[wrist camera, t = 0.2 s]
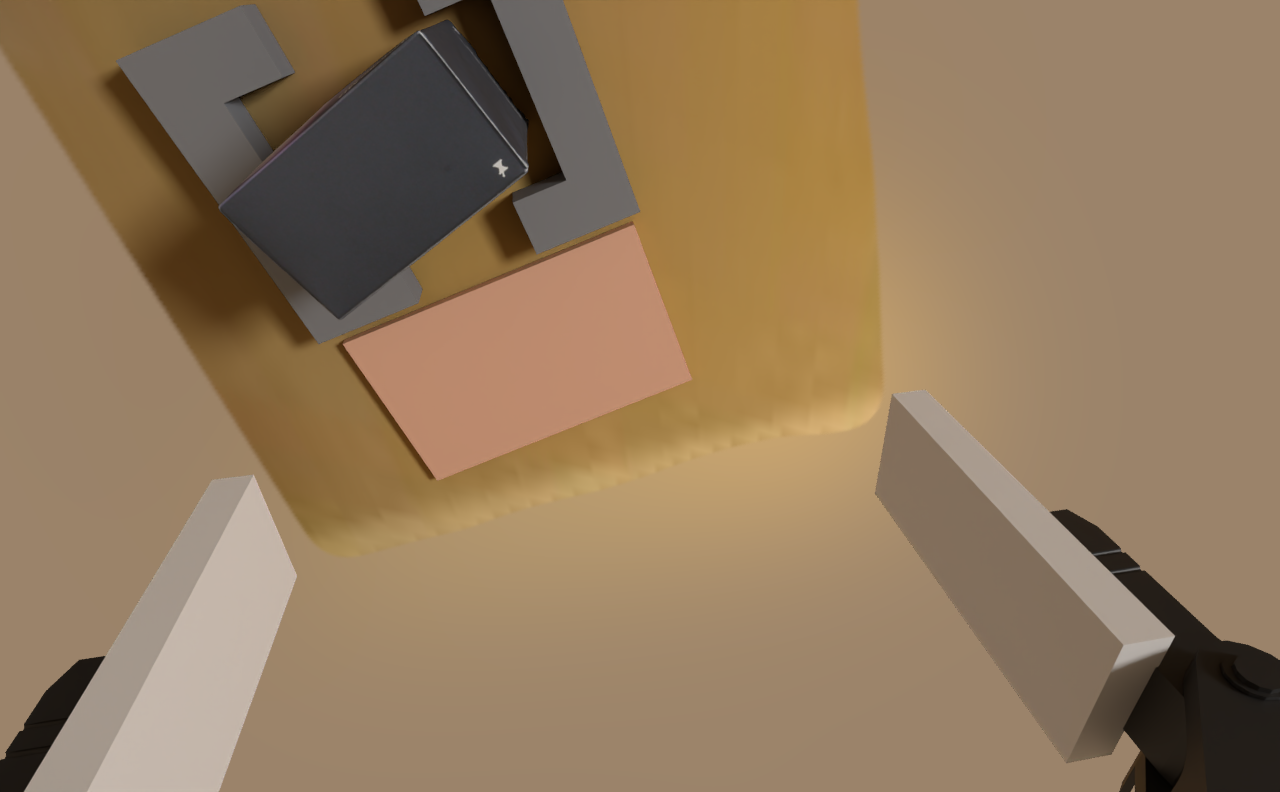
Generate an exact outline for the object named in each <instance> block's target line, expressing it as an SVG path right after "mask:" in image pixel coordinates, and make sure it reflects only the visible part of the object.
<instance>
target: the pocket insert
mask: <svg viewBox="0 0 1280 792" xmlns="http://www.w3.org/2000/svg"><path fill="white" fill-rule="evenodd" d="M459 1H461V0H418V2H419V5H420V7H421V9H422V11H423V13H424V15H425V16H426V15H429V14H431V13H433V12H436V11H438V10H440V9H443V8H445V7H447V6H449V5H452V4H454V3H456V2H459ZM491 1H492V4H493V6H494V8H495V11H496V13H497V16H498V18H499V20H500V23H501V25H502V27H503V30H504V32H505V35H506V37H507V39H508V42H509V44H510V47H511V49H512V51H513V54H514V56H515V59H516V61H517V63H518V66H519V68H520V71H521V73H522V75H523V78H524V80H525V83H526V85H527V87H528V90H529V92H530V95H531V97H532V99H533V102H534V104H535V107H536V109H537V111H538V114H539V116H540V119H541V121H542V123H543V126H544V128H545V131H546V133H547V135H548V138H549V140H550V142H551V145H552V147H553V150H554V152H555V154H556V157H557V159H558V162H559V164H560V166H561V169H562V171H563V172H561V173H559V174H556V175H554V176H551V177H549V178H547V179H544V180H542V181H539V182H537V183H535V184H532V185H530V186H527V187H525V188H523V189H520V190H518V191H516V192H513V205H514V207H515V209H516V211H517V213H518V215H519V217H520V219H521V222H522V224H523V226H524V228H525V230H526V232H527V234H528V236H529V239H530V241H531V243H532V245H533V247H534V249H535V251H536V253H537V254H539V253H541V252H544V251H546V250H549V249H551V248H553V247H556V246H558V245H561V244H563V243H566V242H568V241H570V240H573V239H575V238H578V237H580V236H583V235H585V234H588V233H590V232H592V231H595V230H597V229H600V228H602V227H605V226H607V225H609V224H612V223H614V222H617V221H619V220H622V219H624V218H626V217H629V216H631V215H634V214H636V213H639V212H640V210H639V207H638V204H637V202H636V199H635V196H634V194H633V191H632V188H631V185H630V183H629V180H628V177H627V174H626V172H625V169H624V166H623V164H622V161H621V158H620V155H619V153H618V150H617V147H616V144H615V142H614V139H613V136H612V133H611V131H610V128H609V125H608V123H607V120H606V117H605V114H604V112H603V109H602V106H601V103H600V101H599V98H598V95H597V93H596V90H595V87H594V84H593V82H592V79H591V76H590V73H589V71H588V68H587V65H586V63H585V60H584V57H583V54H582V52H581V49H580V46H579V43H578V41H577V38H576V35H575V32H574V30H573V27H572V24H571V22H570V19H569V16H568V13H567V11H566V8H565V5H564V2H563V0H491ZM116 62H117V63H118V65H119V66H120V68H121V69H122V70H123V72H124V73H125V75H126V76H127V77H128V79H129V80H130V81H131V83H132V84H133V86H134V87H135V88H136V90H137V91H138V93H139V94H140V95H141V97H142V98H143V100H144V101H145V102H146V104H147V105H148V107H149V108H150V109H151V111H152V112H153V114H154V115H155V116H156V118H157V119H158V121H159V122H160V123H161V125H162V126H163V128H164V129H165V130H166V132H167V133H168V134H169V136H170V137H171V139H172V140H173V141H174V143H175V144H176V146H177V147H178V148H179V150H180V151H181V153H182V154H183V155H184V157H185V158H186V160H187V161H188V162H189V164H190V165H191V167H192V168H193V169H194V171H195V172H196V174H197V175H198V176H199V178H200V179H201V181H202V182H203V183H204V185H205V186H206V188H207V189H208V190H209V192H210V193H211V194H212V196H213V197H214V199H215V200H216V201H217V203H218V204H219V205H220V204H221V203H222V202H223V201H224V200H225V199H226V198H227V197H228V196H229V195H230V194H231V193H232V192H233V191H234V189H236V188H237V187H238V186H239V185H240V184H241V183H242V182H243V181H244V180H245V179H246V178H247V177H248V176H249V175H250V174H251V173H252V172H253V171H254V170H255V169H256V168H257V167H258V166H259V165H260V164H261V163H262V162H263V161H264V160H265V159H266V158H267V157H269V156H270V155H271V154H272V153H273V150H272V148H271V147H270V145H269V144H268V142H267V141H266V139H265V138H264V136H263V134H262V133H261V131H260V130H259V128H258V127H257V125H256V123H255V122H254V120H253V119H252V117H251V116H250V114H249V113H248V111H247V109H246V108H245V106H244V105H243V103H242V102H241V100H240V99H239V97H240V96H242V95H244V94H247V93H249V92H251V91H254V90H256V89H258V88H260V87H263V86H265V85H267V84H270V83H272V82H274V81H277V80H279V79H281V78H283V77H286V76H288V75H290V74H293V73H295V71H294V70H293V68H292V66H291V64H290V63H289V61H288V59H287V58H286V56H285V54H284V53H283V51H282V49H281V47H280V46H279V44H278V42H277V41H276V39H275V37H274V36H273V34H272V32H271V30H270V29H269V27H268V25H267V24H266V22H265V20H264V19H263V17H262V15H261V13H260V12H259V10H258V8H257V7H256V5H255V4H254V5H243V6H239V7H236V8H234V9H232V10H230V11H227V12H225V13H223V14H220V15H218V16H216V17H214V18H211V19H209V20H207V21H205V22H202V23H200V24H198V25H196V26H193V27H191V28H189V29H186V30H184V31H182V32H180V33H177V34H175V35H173V36H171V37H168V38H166V39H164V40H162V41H159V42H157V43H155V44H152V45H150V46H148V47H146V48H143V49H141V50H139V51H137V52H134V53H132V54H130V55H128V56H125V57H123V58H121V59H118V60H116ZM234 227H235V226H234ZM235 228H236V229H237V231H238V232H239V234H240V235H241V236H242V238H243V239H244V241H245V242H246V243H247V245H248V246H249V247H250V249H251V250H252V252H253V253H254V254H255V256H256V257H257V259H258V260H259V261H260V263H261V264H262V266H263V267H264V268H265V270H266V271H267V273H268V274H269V275H270V277H271V278H272V280H273V281H274V282H275V284H276V285H277V287H278V288H279V289H280V291H281V292H282V294H283V295H284V296H285V298H286V299H287V301H288V302H289V303H290V305H291V306H292V307H293V309H294V310H295V312H296V313H297V314H298V316H299V317H300V319H301V320H302V321H303V323H304V324H305V326H306V327H307V328H308V330H309V331H310V333H311V334H312V335H313V337H314V338H315V340H316V341H317V342H318V344H320V343H323V342H325V341H327V340H330V339H332V338H335V337H337V336H340V335H342V334H344V333H347V332H349V331H352V330H354V329H357V328H359V327H361V326H364V325H366V324H369V323H371V322H374V321H376V320H378V319H381V318H383V317H386V316H388V315H391V314H393V313H396V312H398V311H400V310H403V309H405V308H408V307H410V306H413V305H415V304H417V303H419V300H420V296H421V293H422V287H421V286H420V284H419V282H418V281H417V279H416V277H415V275H414V274H413V272H412V270H411V269H410V267H408V268H407V269H406V270H404V271H403V272H402V273H400V274H399V275H398V276H397V277H395V278H394V279H393V280H391V281H390V282H389V283H388V284H386V285H385V286H384V287H383V288H382V289H380V290H379V291H378V292H377V293H375V294H374V295H373V296H371V297H370V298H369V299H368V300H366V301H365V302H364V303H362V304H361V305H360V306H359V307H357V308H356V309H355V310H354V311H352V312H351V313H350V314H348V315H347V316H346V317H345V318H343V319H341V320H338V319H337V318H336V317H335V316H334V315H333V314H331V313H330V312H329V311H328V310H327V309H326V308H325V307H323V306H322V305H321V304H320V303H319V302H318V301H317V300H316V299H314V298H313V297H312V296H311V295H310V294H309V293H308V292H307V291H306V290H305V289H303V288H302V287H301V286H300V285H299V284H298V283H297V282H296V281H295V280H294V279H292V278H291V277H290V276H289V275H288V274H287V273H286V272H285V271H284V270H282V269H281V268H280V267H279V266H278V265H277V264H276V263H274V262H273V261H272V260H271V259H270V258H269V257H268V256H267V255H266V254H265V253H264V252H263V251H262V250H261V249H259V248H258V247H257V246H256V245H255V244H254V243H253V242H252V241H251V240H250V239H249V238H247V237H246V236H245V235H244V234H243V233H242V232H241V231H240V230H239V229H238V228H237V227H235Z"/></svg>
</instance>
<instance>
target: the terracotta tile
mask: <svg viewBox="0 0 1280 792" xmlns="http://www.w3.org/2000/svg"><path fill="white" fill-rule="evenodd" d="M343 345H344V347H345V348H346V350H347V351H348V353H349V354H350V355H351V357H352V358H353V360H354V361H355V363H356V364H357V366H358V367H359V368H360V370H361V371H362V373H363V374H364V376H365V377H366V379H367V380H368V381H369V383H370V384H371V386H372V387H373V389H374V390H375V392H376V393H377V394H378V396H379V397H380V399H381V400H382V402H383V403H384V404H385V406H386V407H387V409H388V410H389V412H390V413H391V415H392V416H393V417H394V419H395V420H396V422H397V423H398V425H399V426H400V428H401V429H402V430H403V432H404V433H405V435H406V436H407V438H408V439H409V440H410V442H411V443H412V445H413V446H414V448H415V449H416V451H417V452H418V453H419V455H420V456H421V458H422V459H423V461H424V462H425V464H426V465H427V466H428V468H429V469H430V471H431V472H432V474H433V475H434V476H435V478H436V479H437V481H438V480H440V479H443V478H445V477H448V476H450V475H453V474H455V473H458V472H460V471H463V470H466V469H468V468H471V467H473V466H476V465H478V464H481V463H483V462H486V461H488V460H491V459H493V458H496V457H498V456H501V455H503V454H506V453H508V452H511V451H513V450H516V449H518V448H521V447H523V446H526V445H528V444H531V443H534V442H536V441H539V440H541V439H544V438H546V437H549V436H551V435H554V434H556V433H559V432H561V431H564V430H566V429H569V428H571V427H574V426H576V425H579V424H581V423H584V422H586V421H589V420H591V419H594V418H597V417H599V416H602V415H604V414H607V413H609V412H612V411H614V410H617V409H619V408H622V407H624V406H627V405H629V404H632V403H634V402H637V401H639V400H642V399H644V398H647V397H649V396H652V395H654V394H657V393H660V392H662V391H665V390H667V389H670V388H672V387H675V386H677V385H680V384H682V383H685V382H687V381H690V380H692V378H691V375H690V372H689V370H688V367H687V364H686V362H685V359H684V356H683V354H682V351H681V348H680V346H679V343H678V340H677V338H676V335H675V332H674V330H673V327H672V325H671V322H670V319H669V317H668V314H667V311H666V309H665V306H664V303H663V301H662V298H661V295H660V293H659V290H658V287H657V285H656V282H655V279H654V277H653V274H652V271H651V269H650V266H649V263H648V261H647V258H646V255H645V253H644V250H643V247H642V245H641V242H640V239H639V237H638V234H637V231H636V229H635V226H634V224H633V222H630V223H627V224H625V225H622V226H620V227H617V228H615V229H613V230H610V231H608V232H605V233H603V234H600V235H598V236H596V237H593V238H591V239H588V240H586V241H583V242H581V243H579V244H576V245H574V246H571V247H569V248H566V249H564V250H562V251H559V252H557V253H554V254H552V255H549V256H547V257H544V258H542V259H540V260H537V261H535V262H532V263H530V264H527V265H525V266H523V267H520V268H518V269H515V270H513V271H510V272H508V273H506V274H503V275H501V276H498V277H496V278H493V279H491V280H489V281H486V282H484V283H481V284H479V285H476V286H474V287H471V288H469V289H467V290H464V291H462V292H459V293H457V294H454V295H452V296H450V297H447V298H445V299H442V300H440V301H437V302H435V303H433V304H430V305H428V306H425V307H423V308H420V309H418V310H416V311H413V312H411V313H408V314H406V315H403V316H401V317H398V318H396V319H394V320H391V321H389V322H386V323H384V324H381V325H379V326H377V327H374V328H372V329H369V330H367V331H364V332H362V333H360V334H357V335H355V336H352V337H350V338H347V339H345V340H344V342H343Z"/></svg>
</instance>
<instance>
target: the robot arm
mask: <svg viewBox="0 0 1280 792" xmlns="http://www.w3.org/2000/svg"><path fill="white" fill-rule="evenodd" d="M875 494H876V495H877V497H878V498H879V500H880V501H881V502H882V504H883V505H884V507H885V508H886V510H887V511H888V512H889V514H890V515H891V517H892V518H893V519H894V521H895V522H896V524H897V525H898V527H899V528H900V529H901V531H902V532H903V533H904V535H905V536H906V538H907V539H908V541H909V542H910V543H911V545H912V546H913V548H914V549H915V551H916V552H917V553H918V555H919V556H920V557H921V559H922V560H923V562H924V563H925V565H926V566H927V567H928V569H929V570H930V571H931V573H932V574H933V576H934V577H935V579H936V580H937V582H938V583H939V584H940V586H941V587H942V588H943V590H944V591H945V593H946V594H947V596H948V597H949V598H950V600H951V601H952V603H953V604H954V605H955V607H956V608H957V610H958V611H959V612H960V614H961V615H962V617H963V618H964V620H965V621H966V622H967V624H968V625H969V627H970V628H971V629H972V631H973V632H974V634H975V635H976V636H977V638H978V639H979V641H980V642H981V643H982V645H983V646H984V648H985V649H986V651H987V652H988V653H989V655H990V656H991V658H992V659H993V661H994V662H995V663H996V665H997V666H998V667H999V669H1000V670H1001V672H1002V673H1003V675H1004V676H1005V677H1006V679H1007V680H1008V682H1009V683H1010V684H1011V686H1012V687H1013V689H1014V690H1015V692H1016V693H1017V694H1018V696H1019V697H1020V698H1021V700H1022V701H1023V703H1024V704H1025V706H1026V707H1027V708H1028V710H1029V711H1030V713H1031V714H1032V715H1033V717H1034V718H1035V720H1036V721H1037V723H1038V724H1039V725H1040V727H1041V728H1042V730H1043V731H1044V732H1045V734H1046V735H1047V737H1048V738H1049V739H1050V741H1051V742H1052V744H1053V745H1054V747H1055V748H1056V749H1057V751H1058V752H1059V753H1060V755H1061V756H1062V758H1063V759H1064V761H1065V762H1066V763H1070V762H1074V761H1079V760H1085V759H1090V758H1095V757H1100V756H1105V755H1111V754H1112V752H1113V750H1114V749H1115V747H1116V745H1117V743H1118V741H1119V739H1120V737H1121V736H1122V734H1123V732H1124V731H1125V732H1126V733H1127V734H1128V735H1129V737H1130V738H1131V739H1132V740H1133V742H1134V743H1135V744H1136V745H1137V746H1138V748H1139V749H1140V750H1141V751H1140V752H1139V754H1138V756H1137V758H1136V759H1135V761H1134V763H1133V765H1132V766H1131V768H1130V770H1129V772H1128V773H1127V775H1126V777H1125V778H1124V780H1123V782H1122V785H1121V788H1120V791H1119V792H1130V791H1131V790H1132V788H1133V786H1134V785H1135V792H1280V660H1278V659H1277V658H1275V657H1274V656H1272V655H1270V654H1268V653H1266V652H1263V651H1261V650H1259V649H1256V648H1254V647H1251V646H1249V645H1245V644H1241V643H1235V642H1231V641H1221V640H1219V639H1218V638H1217V637H1216V636H1214V635H1213V634H1212V633H1211V632H1210V631H1209V630H1208V629H1207V628H1206V627H1205V626H1204V625H1203V624H1202V623H1201V622H1200V621H1198V620H1197V619H1196V618H1195V617H1194V616H1193V615H1192V614H1191V613H1190V612H1189V611H1188V610H1187V609H1186V608H1185V607H1183V606H1182V605H1181V604H1180V603H1179V602H1178V601H1177V600H1176V599H1175V598H1174V597H1173V596H1172V595H1170V594H1169V593H1168V592H1167V591H1166V590H1165V589H1164V588H1163V587H1162V586H1161V585H1160V584H1159V583H1158V582H1156V581H1155V580H1154V579H1153V578H1152V577H1151V576H1150V575H1149V574H1148V573H1147V572H1146V571H1141V570H1140V566H1139V565H1138V564H1137V563H1136V562H1135V561H1134V560H1133V559H1132V558H1131V557H1130V556H1129V555H1128V554H1126V553H1122V552H1121V548H1120V547H1119V546H1118V545H1117V544H1116V543H1114V542H1113V541H1112V540H1111V539H1110V538H1109V537H1108V536H1107V535H1106V534H1105V533H1104V532H1103V531H1102V530H1101V529H1099V527H1097V526H1096V525H1094V524H1092V523H1090V522H1088V521H1087V520H1085V519H1083V518H1081V517H1080V516H1078V515H1076V514H1074V513H1073V512H1070V511H1069V510H1067V509H1066V510H1059V511H1052V512H1049V511H1048V510H1047V509H1046V508H1045V507H1044V506H1043V505H1042V504H1041V503H1040V502H1039V501H1038V500H1036V498H1035V497H1034V496H1033V495H1032V494H1031V493H1030V492H1029V491H1028V490H1027V489H1026V488H1024V486H1022V485H1021V484H1020V483H1019V482H1018V481H1017V480H1016V479H1015V478H1014V477H1013V476H1012V475H1011V474H1010V473H1009V472H1008V471H1007V470H1006V469H1005V468H1004V467H1003V466H1002V465H1001V464H1000V463H999V462H998V461H997V460H996V459H995V458H994V457H993V456H992V455H991V454H990V453H989V452H988V451H987V450H986V449H985V448H984V447H983V446H982V445H981V444H980V443H979V442H978V441H977V440H976V439H975V438H974V437H973V436H972V435H971V434H970V433H969V432H968V431H967V430H966V429H964V427H963V426H962V425H961V424H960V423H959V422H958V421H957V420H956V419H955V418H954V417H953V416H951V415H950V413H948V411H946V410H945V409H944V408H943V407H942V406H941V405H940V404H939V403H938V402H937V401H936V400H935V399H934V398H933V397H932V396H931V395H930V394H929V393H928V392H927V391H926V390H920V391H912V392H904V393H896V394H892V398H891V403H890V409H889V415H888V421H887V426H886V432H885V438H884V444H883V450H882V456H881V461H880V468H879V473H878V479H877V485H876V491H875ZM296 577H297V575H296V573H295V570H294V568H293V566H292V564H291V561H290V559H289V556H288V554H287V552H286V549H285V547H284V545H283V542H282V540H281V538H280V535H279V533H278V530H277V528H276V526H275V523H274V521H273V519H272V516H271V514H270V512H269V510H268V507H267V505H266V502H265V500H264V498H263V495H262V493H261V491H260V488H259V486H258V484H257V481H256V479H255V477H254V475H248V476H239V477H231V478H223V479H216V480H212V481H211V483H210V485H209V486H208V488H207V489H206V491H205V493H204V494H203V496H202V498H201V499H200V501H199V503H198V504H197V506H196V508H195V509H194V511H193V513H192V514H191V516H190V517H189V519H188V521H187V522H186V524H185V526H184V527H183V529H182V531H181V533H180V534H179V536H178V537H177V539H176V541H175V542H174V544H173V546H172V547H171V549H170V551H169V552H168V554H167V556H166V558H165V559H164V561H163V562H162V564H161V565H160V567H159V569H158V571H157V572H156V574H155V576H154V577H153V579H152V580H151V582H150V584H149V585H148V587H147V589H146V591H145V592H144V594H143V595H142V597H141V599H140V600H139V602H138V604H137V605H136V607H135V609H134V610H133V612H132V614H131V615H130V617H129V619H128V620H127V622H126V623H125V625H124V627H123V628H122V630H121V632H120V633H119V635H118V637H117V638H116V640H115V642H114V643H113V645H112V647H111V648H110V650H109V652H108V653H107V655H106V656H103V657H96V658H89V659H82V660H79V661H78V662H77V663H75V664H74V665H73V666H72V667H71V668H70V669H69V670H68V671H67V672H66V673H65V674H64V675H63V676H62V677H60V678H59V679H58V680H57V681H56V682H55V683H54V684H53V685H52V686H51V687H50V688H49V689H48V690H46V692H45V693H44V695H43V696H42V698H41V699H40V701H39V702H38V704H37V705H36V707H35V708H34V710H33V712H32V713H31V715H30V716H29V718H28V719H27V721H26V722H25V724H24V730H23V731H20V732H19V733H18V734H17V736H16V737H15V739H14V740H13V742H12V743H11V745H10V746H9V748H8V749H7V751H6V752H5V753H6V757H5V759H2V760H0V792H219V789H220V787H221V784H222V781H223V779H224V776H225V773H226V770H227V767H228V765H229V762H230V759H231V756H232V754H233V751H234V748H235V745H236V743H237V740H238V737H239V734H240V732H241V729H242V726H243V723H244V721H245V718H246V715H247V712H248V710H249V707H250V704H251V701H252V699H253V696H254V693H255V690H256V688H257V685H258V682H259V679H260V677H261V674H262V671H263V668H264V665H265V663H266V660H267V657H268V655H269V652H270V649H271V646H272V643H273V641H274V638H275V635H276V632H277V630H278V627H279V624H280V621H281V619H282V616H283V613H284V610H285V607H286V605H287V602H288V599H289V596H290V594H291V591H292V588H293V586H294V583H295V580H296Z"/></svg>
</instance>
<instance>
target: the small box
mask: <svg viewBox="0 0 1280 792" xmlns="http://www.w3.org/2000/svg"><path fill="white" fill-rule="evenodd" d="M528 122H529V120H528V119H527V118H525V116H524V114H523V113H522V112H521V111H520V110H519V109H518V108H517V107H516V106H515V105H514V104H513V102H512V99H511V98H510V97H508V96H507V93H506V92H505V91H504V90H503V89H502V88H501V87H500V86H499V83H498V82H497V81H496V80H495V79H494V77H493V76H492V75H491V73H490V72H489V70H488V68H487V67H486V66H485V65H484V64H483V63H482V61H481V60H480V58H479V57H478V56H477V54H476V51H475V49H474V48H473V47H472V46H471V44H470V43H469V42H468V41H467V40H466V39H465V38H464V37H463V36H462V34H461V33H460V32H459V31H458V30H457V29H456V28H455V26H454V25H453V24H452V22H450V21H449V20H445V21H442V22H440V23H438V24H436V25H433V26H431V27H428V28H426V29H422V30H421V31H417V32H415V33H414V34H412V35H411V36H409V37H408V38H406V39H405V40H404V41H402V42H401V43H400V44H398V45H397V46H396V47H394V48H393V49H392V50H391V51H389V52H388V53H387V54H385V55H384V56H383V57H382V58H380V59H379V60H378V61H377V62H375V63H374V64H373V65H372V66H371V67H369V68H368V69H367V70H366V71H364V72H363V73H362V74H361V75H360V76H358V77H357V78H356V79H355V80H353V81H352V82H351V83H350V84H349V85H347V86H346V87H345V88H344V89H343V90H341V91H340V92H339V93H338V94H336V95H335V96H334V97H333V98H332V99H330V100H329V101H328V102H327V103H326V104H324V105H323V106H322V107H321V108H320V109H319V110H318V111H317V112H316V113H315V114H314V115H313V116H312V117H311V118H310V119H309V120H307V121H306V122H305V123H304V124H303V125H302V126H301V127H300V128H299V129H298V130H297V131H296V132H294V133H293V134H292V135H291V136H290V137H289V138H288V139H287V140H286V141H285V142H284V143H282V144H281V145H280V146H279V147H278V148H277V149H276V150H275V151H274V152H273V153H272V154H271V155H270V156H269V157H267V158H266V159H265V160H264V161H263V162H262V163H261V164H260V165H259V166H258V167H257V168H256V169H255V170H254V171H253V172H252V173H251V174H250V175H249V176H248V177H247V178H246V179H245V180H244V181H243V182H242V183H241V184H240V185H239V186H238V187H237V188H236V189H234V191H233V192H232V193H231V194H230V195H229V196H228V197H227V198H226V199H225V200H224V201H223V202H222V203H221V204H220V205H219V210H220V212H221V213H222V214H223V215H224V216H225V217H226V218H227V219H228V220H229V221H230V222H231V223H232V224H233V225H234V226H235V227H237V228H238V229H239V230H240V231H241V232H242V233H243V234H244V235H245V236H246V237H247V238H249V239H250V240H251V241H252V242H253V243H254V244H255V245H256V246H257V247H258V248H259V249H261V250H262V251H263V252H264V253H265V254H266V255H267V256H268V257H269V258H270V259H271V260H272V261H273V262H274V263H276V264H277V265H278V266H279V267H280V268H281V269H282V270H284V271H285V272H286V273H287V274H288V275H289V276H290V277H291V278H292V279H294V280H295V281H296V282H297V283H298V284H299V285H300V286H301V287H302V288H303V289H305V290H306V291H307V292H308V293H309V294H310V295H311V296H312V297H313V298H314V299H316V300H317V301H318V302H319V303H320V304H321V305H322V306H323V307H325V308H326V309H327V310H328V311H329V312H330V313H331V314H333V315H334V316H335V317H336V318H337V319H338V320H341V319H343V318H345V317H346V316H347V315H348V314H350V313H351V312H352V311H354V310H355V309H356V308H357V307H359V306H360V305H361V304H362V303H364V302H365V301H366V300H368V299H369V298H370V297H371V296H373V295H374V294H375V293H377V292H378V291H379V290H380V289H382V288H383V287H384V286H385V285H386V284H388V283H389V282H390V281H391V280H393V279H394V278H395V277H397V276H398V275H399V274H400V273H402V272H403V271H404V270H406V269H407V268H408V267H409V266H410V265H412V264H413V263H414V262H416V261H417V260H418V259H420V258H421V257H422V256H424V255H425V254H426V253H427V252H428V251H430V250H431V249H432V248H433V247H435V246H436V245H437V244H439V243H440V242H441V241H442V240H443V239H445V238H446V237H447V236H449V235H450V234H451V233H452V232H453V231H454V230H456V229H457V228H458V227H460V226H461V225H462V224H463V223H465V222H466V221H467V220H469V219H470V218H471V217H472V216H473V215H475V214H476V213H477V212H479V211H480V210H481V209H483V208H484V207H485V206H486V205H488V204H489V203H490V202H491V201H493V200H494V199H495V198H496V197H498V196H499V195H500V194H501V193H503V192H504V191H505V190H506V189H507V188H509V187H510V186H511V185H513V184H514V183H515V182H516V181H518V180H519V179H520V178H522V177H523V176H524V175H525V174H526V173H527V172H528V166H529V165H528V162H527V130H528Z"/></svg>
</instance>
